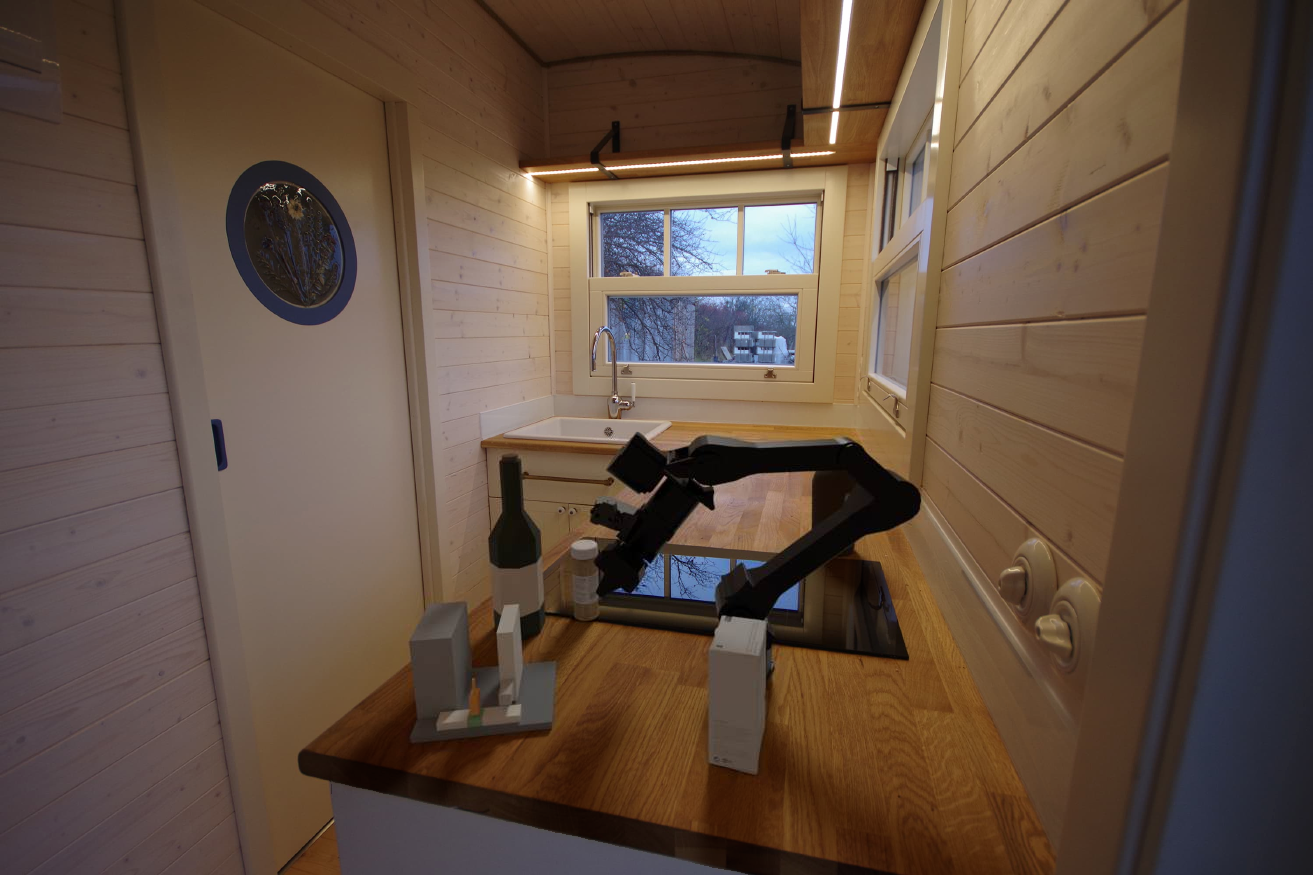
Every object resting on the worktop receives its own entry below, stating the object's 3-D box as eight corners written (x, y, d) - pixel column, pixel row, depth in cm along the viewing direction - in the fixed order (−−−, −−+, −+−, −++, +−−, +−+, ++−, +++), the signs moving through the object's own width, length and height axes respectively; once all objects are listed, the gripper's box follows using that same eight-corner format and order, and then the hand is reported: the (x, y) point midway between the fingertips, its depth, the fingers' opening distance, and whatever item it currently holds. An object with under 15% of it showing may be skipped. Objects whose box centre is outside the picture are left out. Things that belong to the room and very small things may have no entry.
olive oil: (799, 548, 121) (805, 441, 115) (822, 535, 128) (829, 434, 123) (843, 562, 113) (851, 449, 108) (865, 548, 120) (874, 441, 115)
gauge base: (556, 666, 79) (553, 593, 76) (552, 728, 67) (547, 643, 64) (437, 677, 77) (430, 602, 74) (410, 743, 64) (400, 655, 62)
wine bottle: (555, 620, 91) (547, 452, 85) (524, 645, 84) (513, 464, 78) (517, 609, 95) (506, 447, 89) (484, 633, 88) (470, 458, 81)
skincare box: (757, 777, 59) (762, 659, 56) (704, 764, 61) (706, 649, 58) (765, 724, 67) (769, 618, 64) (718, 714, 69) (720, 611, 66)
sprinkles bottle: (590, 605, 96) (588, 536, 93) (604, 616, 93) (602, 544, 90) (568, 614, 93) (565, 543, 90) (582, 625, 90) (579, 551, 87)
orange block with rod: (481, 704, 67) (478, 674, 66) (478, 714, 66) (476, 683, 65) (473, 705, 67) (470, 674, 66) (470, 715, 65) (467, 684, 65)
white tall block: (522, 666, 76) (518, 604, 74) (514, 716, 67) (509, 645, 65) (508, 668, 76) (504, 605, 74) (498, 717, 67) (492, 647, 64)
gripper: (635, 467, 83) (578, 540, 86) (600, 487, 65) (528, 579, 68) (690, 512, 82) (630, 585, 85) (670, 546, 64) (594, 637, 66)
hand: (598, 594), depth 76 cm, fingers closed
